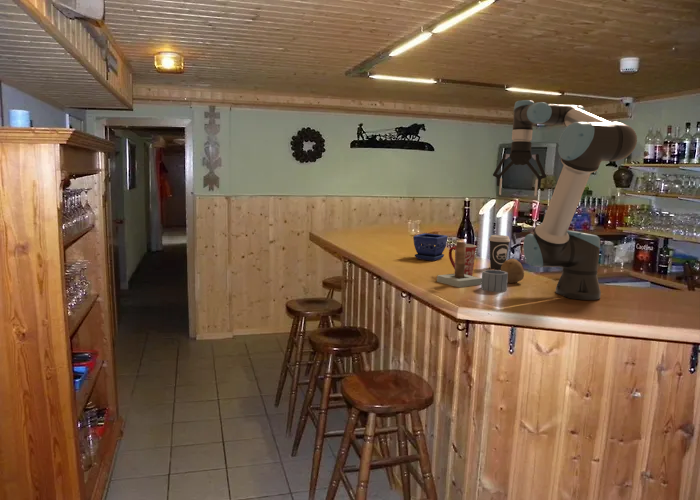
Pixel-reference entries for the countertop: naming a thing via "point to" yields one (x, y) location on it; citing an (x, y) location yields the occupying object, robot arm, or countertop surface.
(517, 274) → the brown rounded lump
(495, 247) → the coffee cup
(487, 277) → the cup
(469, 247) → the mug
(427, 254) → the flower pot
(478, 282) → the socket block
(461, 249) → the brown wooden bar
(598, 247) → the robot arm
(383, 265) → the countertop surface
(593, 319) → the countertop surface
